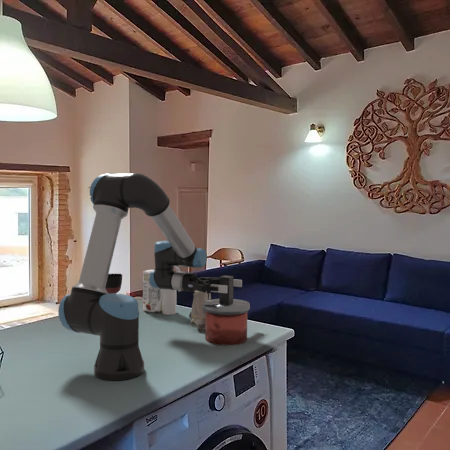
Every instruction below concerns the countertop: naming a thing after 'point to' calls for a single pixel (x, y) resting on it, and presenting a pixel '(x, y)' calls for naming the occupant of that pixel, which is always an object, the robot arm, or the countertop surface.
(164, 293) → the fire extinguisher
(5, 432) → the countertop surface
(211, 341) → the pot
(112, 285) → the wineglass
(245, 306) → the lid
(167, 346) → the countertop surface
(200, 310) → the chinaware
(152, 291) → the juice carton
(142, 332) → the countertop surface
